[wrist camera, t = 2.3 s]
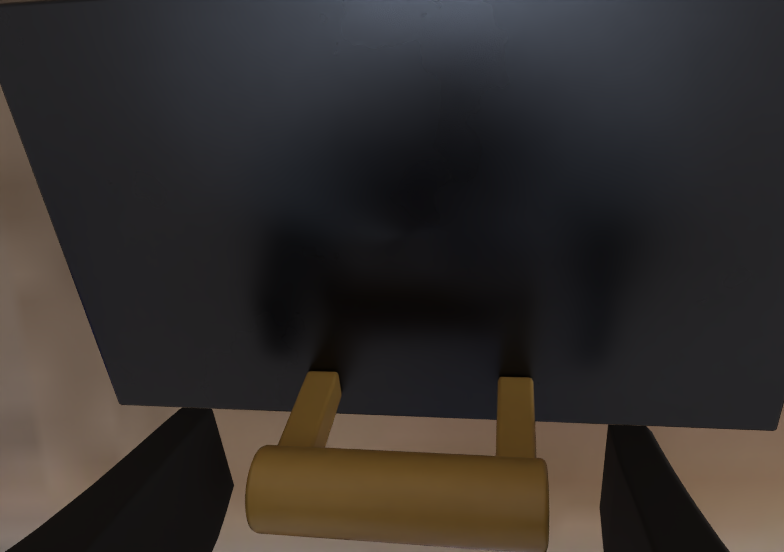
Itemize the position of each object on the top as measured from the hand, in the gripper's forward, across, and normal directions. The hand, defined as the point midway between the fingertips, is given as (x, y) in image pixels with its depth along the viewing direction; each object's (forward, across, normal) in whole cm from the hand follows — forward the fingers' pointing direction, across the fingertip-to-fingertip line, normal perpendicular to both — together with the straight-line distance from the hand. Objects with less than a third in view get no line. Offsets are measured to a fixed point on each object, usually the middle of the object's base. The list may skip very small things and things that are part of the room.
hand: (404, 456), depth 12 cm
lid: (+3, 0, -3) cm, 4 cm away
